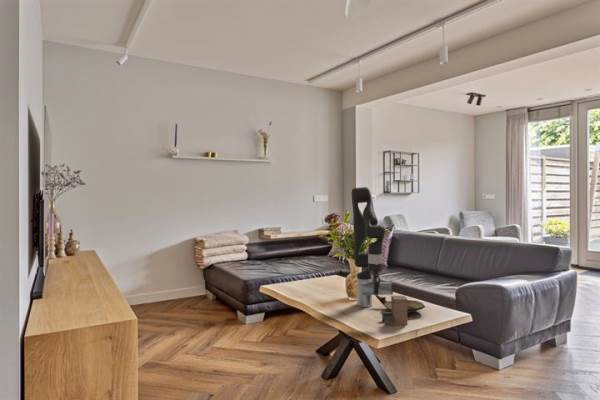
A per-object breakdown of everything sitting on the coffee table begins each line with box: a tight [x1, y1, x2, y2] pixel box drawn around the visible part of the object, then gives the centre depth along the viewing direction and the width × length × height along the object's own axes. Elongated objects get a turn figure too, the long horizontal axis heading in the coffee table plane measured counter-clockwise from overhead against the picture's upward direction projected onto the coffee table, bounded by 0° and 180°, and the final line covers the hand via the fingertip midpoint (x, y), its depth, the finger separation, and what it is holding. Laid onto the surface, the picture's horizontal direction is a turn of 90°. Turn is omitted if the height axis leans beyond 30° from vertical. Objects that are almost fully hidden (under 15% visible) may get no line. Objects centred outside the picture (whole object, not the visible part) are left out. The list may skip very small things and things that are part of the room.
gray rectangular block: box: [362, 281, 394, 296], centre depth 214 cm, size 4×16×6 cm, turn 90°
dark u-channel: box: [381, 295, 408, 326], centre depth 215 cm, size 8×12×14 cm, turn 89°
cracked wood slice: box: [374, 295, 426, 314], centre depth 237 cm, size 22×30×8 cm
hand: (375, 293), depth 214 cm, fingers closed on gray rectangular block, 3 cm apart
